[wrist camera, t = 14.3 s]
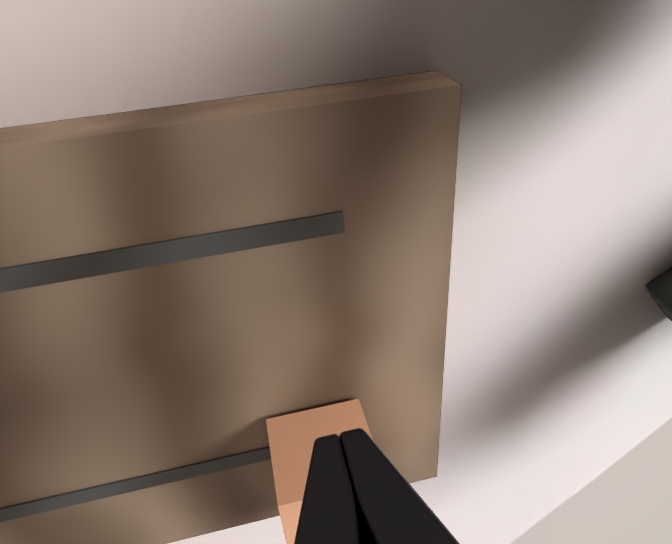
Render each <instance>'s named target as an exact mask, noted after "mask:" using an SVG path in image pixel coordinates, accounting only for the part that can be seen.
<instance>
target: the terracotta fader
mask: <svg viewBox="0 0 672 544" xmlns="http://www.w3.org/2000/svg"><path fill="white" fill-rule="evenodd" d="M266 424H267V431H268V438H269V445H270V453H271V460H272V467H273V475H274V482H275V489H276V496H277V504H278V509H279V513H280V517H281V522H282V526H283V530H284V534H285V539H286V543H287V544H294V541H295V536H296V531H297V526H298V521H299V516H300V511H301V506H302V501H303V496H304V491H305V485H306V480H307V475H308V470H309V465H310V460H311V455H312V450H313V445H314V441H315V440H316V439H317V438H318V437H322V436H327V435H331V434H337V435H338V436H340V433H341V432H344V431H348V430H352V429H357V428H361V429H363V430H364V431H366V433H367V434H368V435H369V436H370V437H371V438H372V436H371V433H370V430H369V427H368V424H367V422H366V419H365V416H364V413H363V410H362V407H361V404H360V401H359V399H355V400H351V401H346V402H342V403H337V404H333V405H328V406H324V407H319V408H315V409H310V410H306V411H301V412H296V413H292V414H287V415H283V416H278V417H274V418H269V419H266ZM339 438H340V437H339ZM372 440H373V439H372Z"/></svg>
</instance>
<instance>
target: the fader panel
mask: <svg viewBox="0 0 672 544" xmlns="http://www.w3.org/2000/svg"><path fill="white" fill-rule="evenodd" d="M461 86H462V85H461V84H459V83H457V82H456V81H454V80H452V79H451V78H449V77H447V76H445V75H444V74H442V73H440V72H439V71H431V72H423V73H416V74H408V75H400V76H393V77H385V78H378V79H370V80H363V81H355V82H348V83H340V84H333V85H325V86H318V87H310V88H302V89H295V90H287V91H280V92H272V93H265V94H257V95H250V96H242V97H235V98H227V99H219V100H212V101H204V102H197V103H189V104H182V105H174V106H167V107H159V108H152V109H144V110H137V111H129V112H121V113H114V114H106V115H99V116H91V117H84V118H76V119H69V120H61V121H54V122H46V123H38V124H31V125H23V126H16V127H8V128H1V129H0V544H167V543H171V542H175V541H179V540H183V539H187V538H191V537H195V536H199V535H203V534H207V533H211V532H215V531H219V530H223V529H227V528H231V527H235V526H239V525H243V524H247V523H251V522H255V521H259V520H263V519H267V518H271V517H275V516H279V515H280V513H279V509H278V504H277V496H276V489H275V482H274V475H273V467H272V460H271V453H270V445H269V438H268V431H267V424H266V419H269V418H274V417H278V416H283V415H287V414H292V413H296V412H301V411H306V410H310V409H315V408H319V407H324V406H328V405H333V404H337V403H342V402H346V401H351V400H355V399H359V401H360V404H361V407H362V410H363V413H364V416H365V419H366V422H367V424H368V427H369V430H370V433H371V436H372V439H373V441H374V442H375V443H376V444H377V446H378V447H379V448H380V449H381V450H382V452H383V453H384V454H385V455H386V456H387V458H388V459H389V460H390V461H391V462H392V464H393V465H394V466H395V467H396V468H397V470H398V471H399V472H400V473H401V474H402V476H403V477H404V478H405V479H406V480H407V482H408V483H412V482H416V481H420V480H424V479H428V478H432V477H436V476H437V465H438V449H439V433H440V417H441V402H442V386H443V370H444V354H445V338H446V323H447V307H448V291H449V275H450V260H451V244H452V228H453V212H454V196H455V181H456V165H457V149H458V133H459V117H460V102H461Z"/></svg>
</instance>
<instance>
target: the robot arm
mask: <svg viewBox="0 0 672 544" xmlns="http://www.w3.org/2000/svg"><path fill="white" fill-rule="evenodd" d="M339 437H340V438H339ZM294 544H459V542H458V541H457V540H456V539H455V538H454V536H453V535H452V534H451V533H450V532H449V530H448V529H447V528H446V527H445V526H444V525H443V523H442V522H441V521H440V520H439V519H438V517H437V516H436V515H435V514H434V513H433V511H432V510H431V509H430V508H429V507H428V505H427V504H426V503H425V502H424V501H423V499H422V498H421V497H420V496H419V495H418V493H417V492H416V491H415V490H414V489H413V487H412V486H411V485H410V484H409V483H408V482H407V480H406V479H405V478H404V477H403V476H402V474H401V473H400V472H399V471H398V470H397V468H396V467H395V466H394V465H393V464H392V462H391V461H390V460H389V459H388V458H387V456H386V455H385V454H384V453H383V452H382V450H381V449H380V448H379V447H378V446H377V444H376V443H375V442H374V441H373V440H372V438H371V437H370V436H369V435H368V434H367V433H366V431H364V430H363V429H361V428H357V429H352V430H348V431H344V432H341V433H340V436H338V435H337V434H331V435H327V436H322V437H318V438H317V439H316V440H315V441H314V445H313V450H312V455H311V460H310V465H309V470H308V475H307V480H306V485H305V491H304V496H303V501H302V506H301V511H300V516H299V521H298V526H297V531H296V536H295V541H294Z"/></svg>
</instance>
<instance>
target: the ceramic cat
mask: <svg viewBox="0 0 672 544" xmlns="http://www.w3.org/2000/svg"><path fill="white" fill-rule="evenodd" d="M647 289H648V291H649V293H650V294H651V296H652V297H653V299H654V300H655V301H656V303H657V304H658V305H659V307H660V308H661V309H662V311H663V312H664V313H665V315H666V316H667V317H668V319H670V320H671V321H672V268H671V269H670V270H669V271H667V272H666V273H665V274H663V275H662V276H660V277H658V278H657V279H655V280H654V281H652V282H651V283H650V284H648V285H647Z"/></svg>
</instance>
